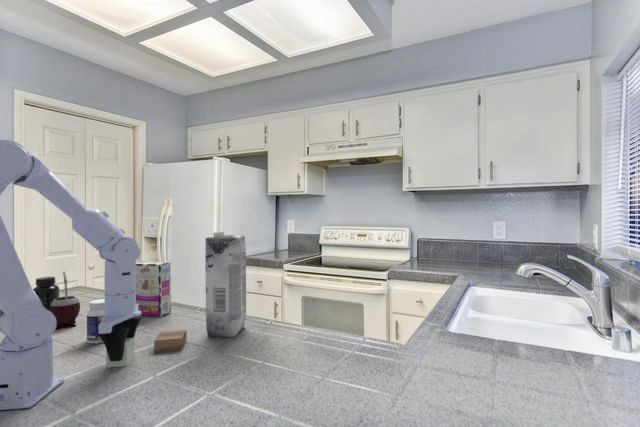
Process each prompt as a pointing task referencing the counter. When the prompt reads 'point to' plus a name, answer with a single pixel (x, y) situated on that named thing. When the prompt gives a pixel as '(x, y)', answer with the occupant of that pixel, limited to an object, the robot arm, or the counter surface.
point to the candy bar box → (153, 288)
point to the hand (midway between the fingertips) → (120, 355)
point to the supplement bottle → (46, 291)
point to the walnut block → (170, 340)
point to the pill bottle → (95, 320)
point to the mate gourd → (65, 309)
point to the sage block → (127, 355)
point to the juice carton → (225, 284)
